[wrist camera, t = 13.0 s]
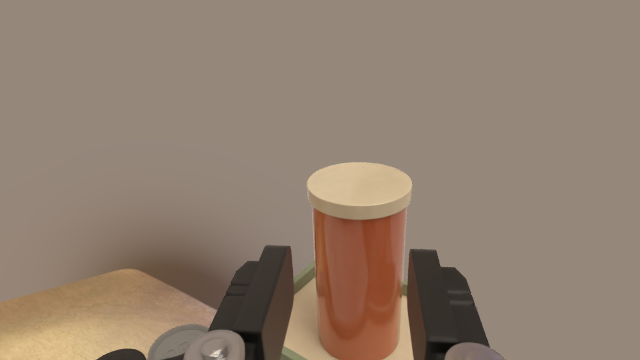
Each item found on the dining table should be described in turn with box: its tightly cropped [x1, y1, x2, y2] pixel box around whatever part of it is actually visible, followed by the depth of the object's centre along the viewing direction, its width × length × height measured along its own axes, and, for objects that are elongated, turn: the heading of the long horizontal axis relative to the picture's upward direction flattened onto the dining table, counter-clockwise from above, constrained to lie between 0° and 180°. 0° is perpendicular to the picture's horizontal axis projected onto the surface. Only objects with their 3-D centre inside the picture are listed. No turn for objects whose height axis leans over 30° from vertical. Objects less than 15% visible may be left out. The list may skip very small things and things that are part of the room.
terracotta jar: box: [307, 162, 412, 360], centre depth 24 cm, size 6×6×11 cm
